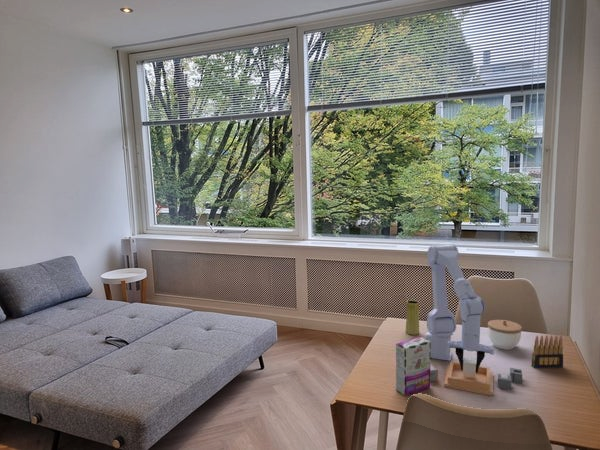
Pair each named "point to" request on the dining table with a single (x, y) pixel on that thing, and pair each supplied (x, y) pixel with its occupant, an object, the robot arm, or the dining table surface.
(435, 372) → the usb wall charger
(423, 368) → the candy bar box
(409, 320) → the vase
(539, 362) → the ammunition clip
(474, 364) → the plain white rectangular block
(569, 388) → the dining table surface
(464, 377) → the wooden tray
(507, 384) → the clip
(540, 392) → the dining table surface
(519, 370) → the clip
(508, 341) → the lidded bowl
